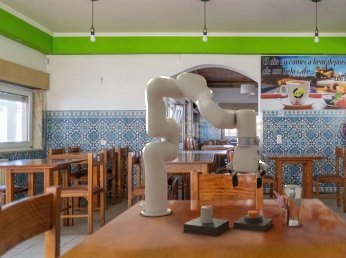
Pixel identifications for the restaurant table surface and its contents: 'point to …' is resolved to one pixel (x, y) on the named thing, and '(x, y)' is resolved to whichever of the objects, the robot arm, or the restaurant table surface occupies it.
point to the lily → (279, 201)
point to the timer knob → (206, 214)
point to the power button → (253, 214)
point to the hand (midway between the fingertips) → (247, 187)
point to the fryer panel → (206, 227)
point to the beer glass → (292, 204)
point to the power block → (253, 223)
